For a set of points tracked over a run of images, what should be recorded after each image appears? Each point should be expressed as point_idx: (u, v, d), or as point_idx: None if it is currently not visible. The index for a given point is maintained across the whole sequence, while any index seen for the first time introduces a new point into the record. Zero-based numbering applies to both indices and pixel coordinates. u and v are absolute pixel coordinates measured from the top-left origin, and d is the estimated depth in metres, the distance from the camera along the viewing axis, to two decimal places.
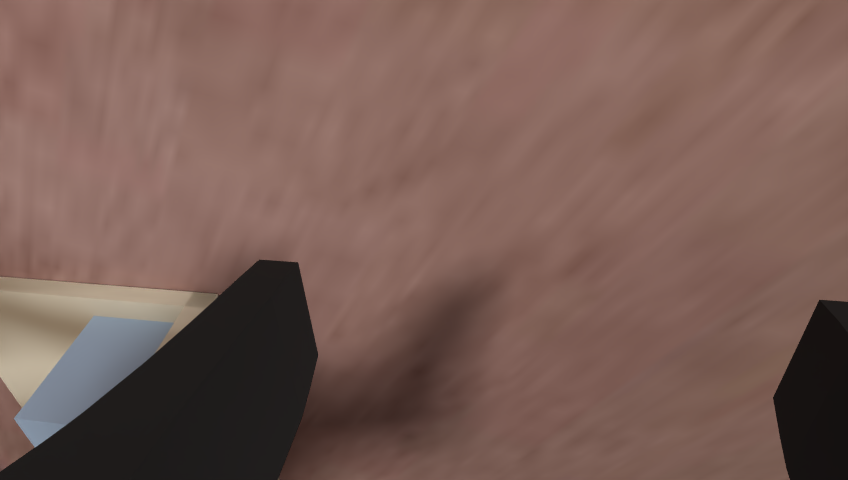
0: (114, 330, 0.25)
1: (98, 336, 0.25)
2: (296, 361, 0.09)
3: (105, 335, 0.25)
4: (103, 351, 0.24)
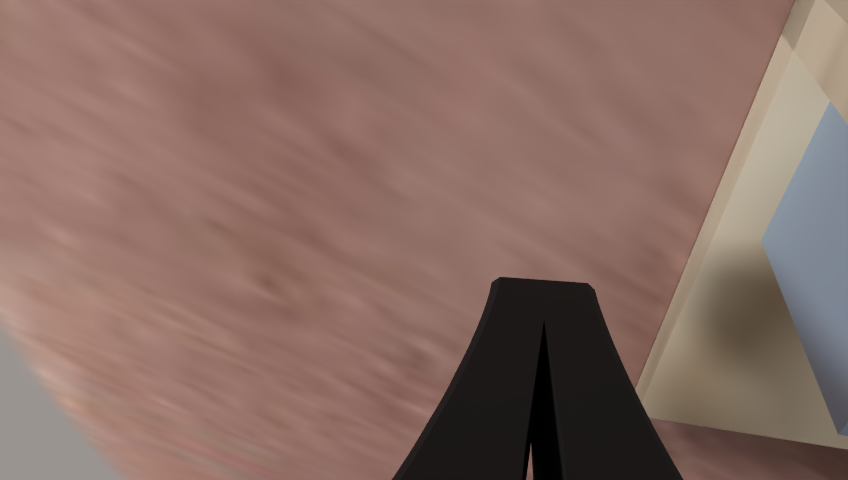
0: (794, 211, 0.13)
1: (789, 240, 0.13)
2: None
3: (794, 228, 0.13)
4: (813, 238, 0.12)
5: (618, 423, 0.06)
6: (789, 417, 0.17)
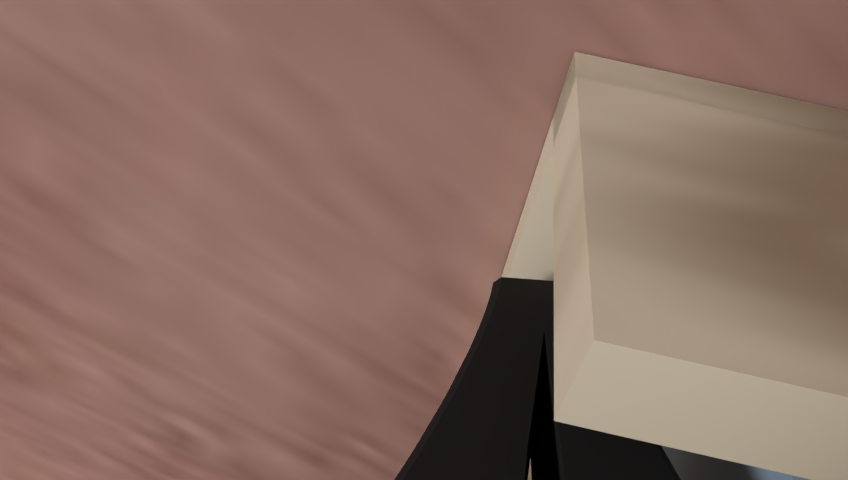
0: None
1: None
2: None
3: None
4: None
5: None
6: None
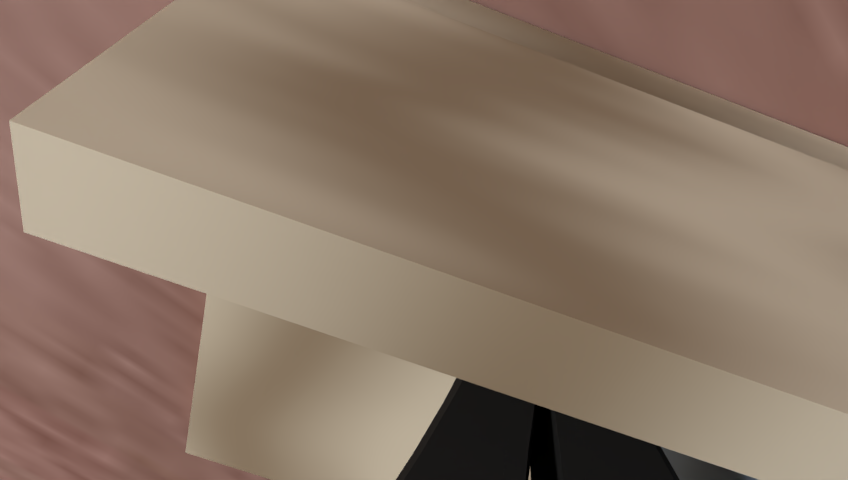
0: None
1: None
2: None
3: None
4: None
5: None
6: None
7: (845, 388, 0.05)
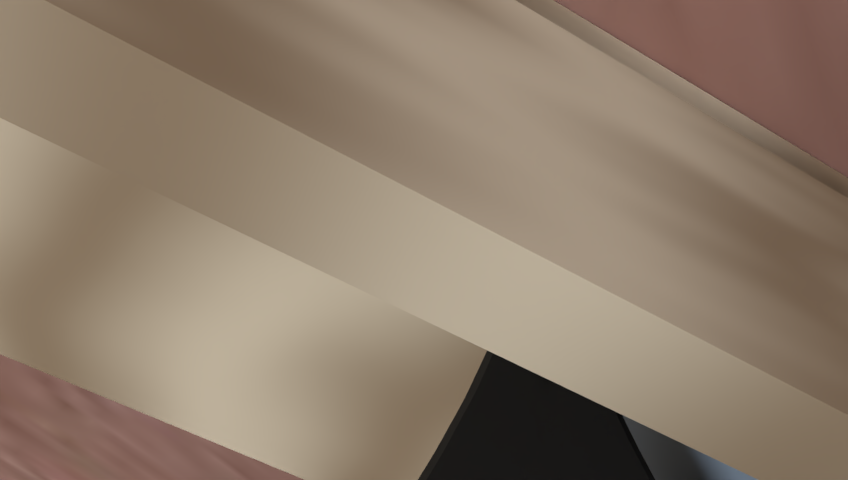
0: None
1: None
2: None
3: None
4: (654, 432, 0.09)
5: (591, 420, 0.06)
6: (154, 392, 0.14)
7: (493, 206, 0.04)
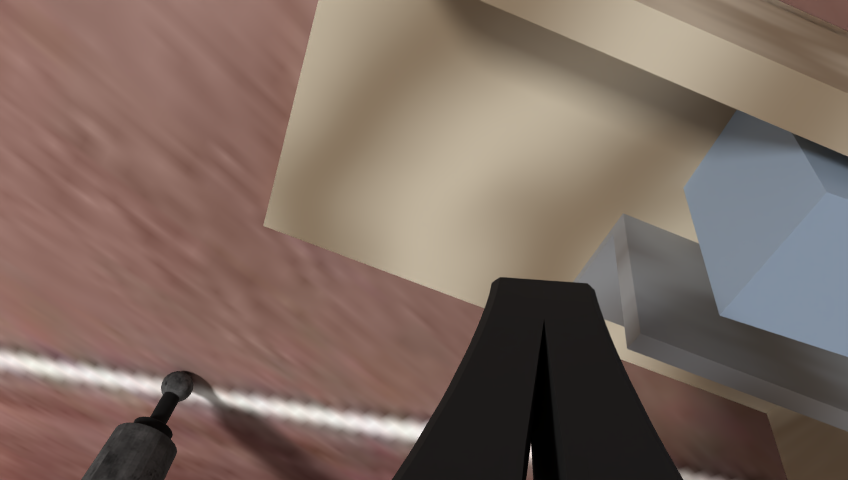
0: (714, 163, 0.16)
1: (706, 185, 0.16)
2: None
3: (711, 176, 0.16)
4: (725, 181, 0.16)
5: (618, 423, 0.06)
6: (381, 246, 0.21)
7: (644, 0, 0.11)
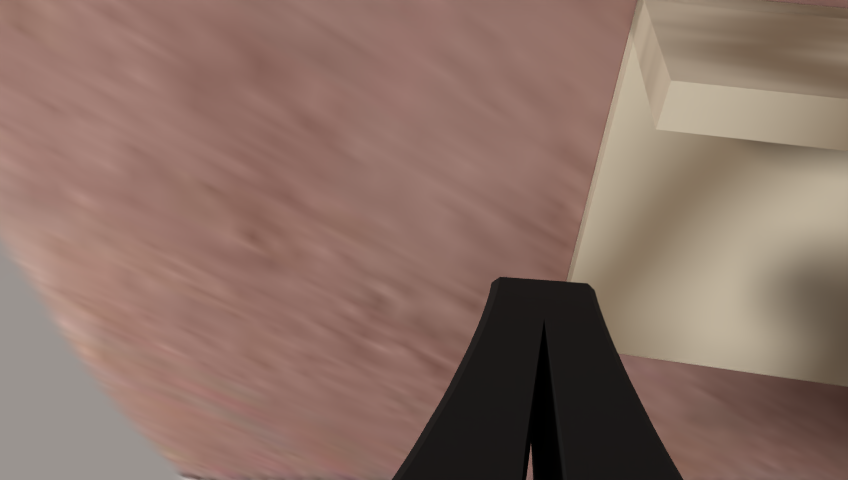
0: None
1: None
2: None
3: None
4: None
5: (618, 423, 0.06)
6: (675, 341, 0.22)
7: None
